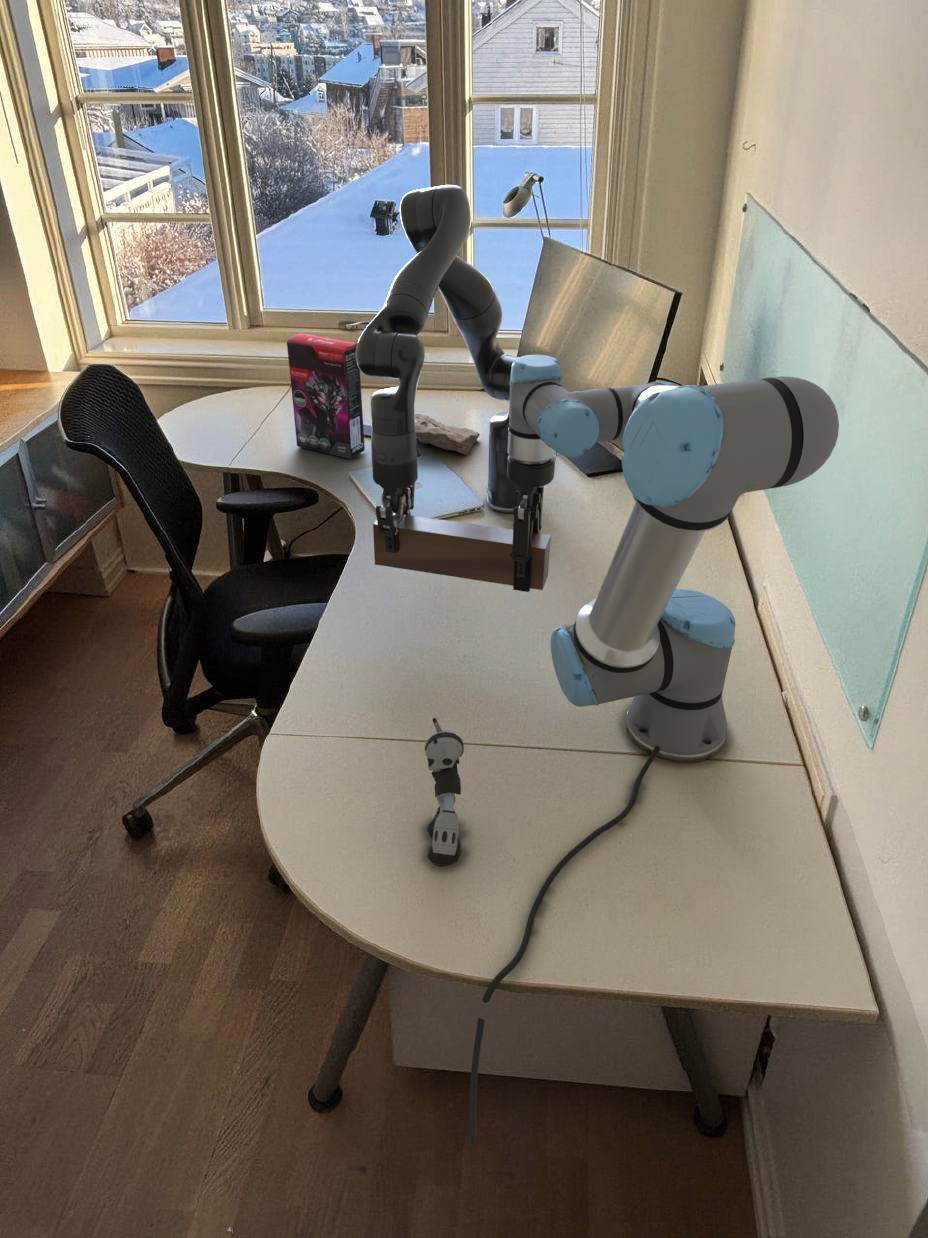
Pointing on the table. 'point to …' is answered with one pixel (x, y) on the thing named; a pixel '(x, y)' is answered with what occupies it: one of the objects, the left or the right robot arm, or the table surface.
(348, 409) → the graphics card box
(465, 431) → the stone
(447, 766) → the robot
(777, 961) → the table surface
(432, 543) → the beam
